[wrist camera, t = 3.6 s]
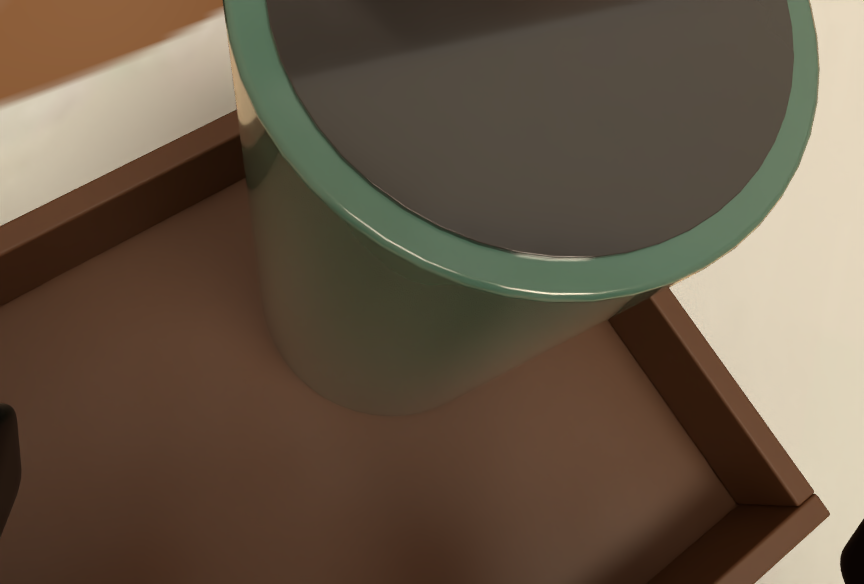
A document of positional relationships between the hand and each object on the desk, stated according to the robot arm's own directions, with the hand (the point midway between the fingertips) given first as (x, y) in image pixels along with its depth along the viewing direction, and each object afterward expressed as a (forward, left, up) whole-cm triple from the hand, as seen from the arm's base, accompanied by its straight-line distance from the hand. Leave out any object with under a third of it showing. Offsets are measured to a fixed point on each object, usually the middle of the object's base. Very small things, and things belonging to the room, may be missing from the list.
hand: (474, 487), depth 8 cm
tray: (+1, 0, -11) cm, 12 cm away
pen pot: (+3, -4, -11) cm, 12 cm away
